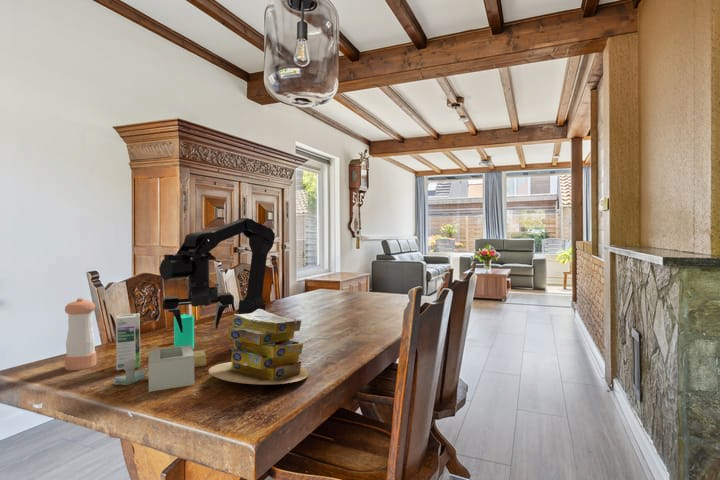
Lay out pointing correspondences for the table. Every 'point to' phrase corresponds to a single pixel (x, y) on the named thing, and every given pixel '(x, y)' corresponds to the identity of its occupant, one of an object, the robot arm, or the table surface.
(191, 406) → the table surface
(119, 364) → the syrup box
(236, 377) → the stacked boxes on plate
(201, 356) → the rectangular block
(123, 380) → the pacifier
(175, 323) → the candle
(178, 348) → the coin box
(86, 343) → the pepper shaker
